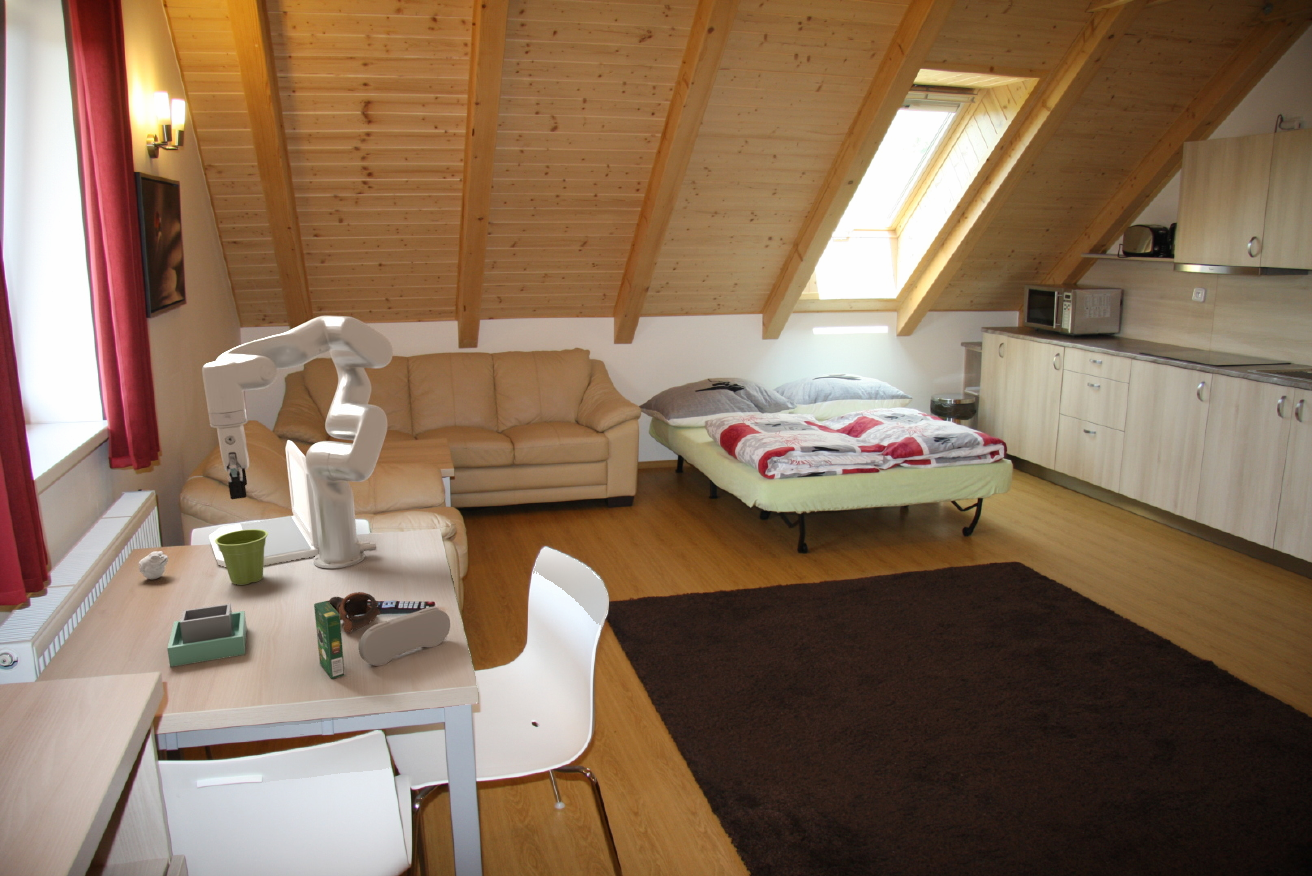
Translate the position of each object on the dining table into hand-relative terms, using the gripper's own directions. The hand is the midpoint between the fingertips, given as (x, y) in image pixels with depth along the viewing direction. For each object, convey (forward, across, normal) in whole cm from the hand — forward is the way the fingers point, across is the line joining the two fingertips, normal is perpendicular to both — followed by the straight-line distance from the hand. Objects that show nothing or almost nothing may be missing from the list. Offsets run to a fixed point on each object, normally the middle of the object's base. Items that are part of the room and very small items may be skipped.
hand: (239, 491), depth 205 cm
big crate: (+26, -21, +8) cm, 35 cm away
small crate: (+25, -21, +8) cm, 34 cm away
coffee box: (+26, -42, -14) cm, 52 cm away
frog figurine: (+27, +26, +23) cm, 44 cm away
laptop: (+28, +41, -1) cm, 50 cm away
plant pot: (+28, +16, +2) cm, 32 cm away
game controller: (+27, -41, -29) cm, 57 cm away
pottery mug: (+27, -22, -20) cm, 40 cm away
